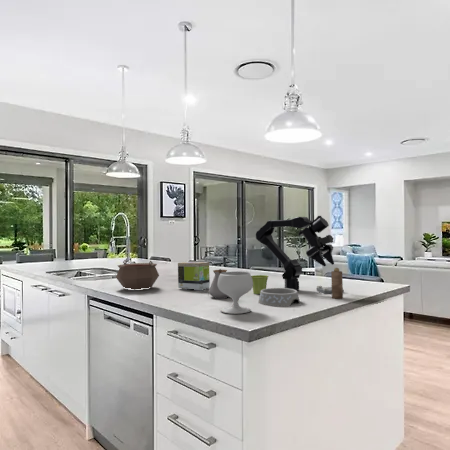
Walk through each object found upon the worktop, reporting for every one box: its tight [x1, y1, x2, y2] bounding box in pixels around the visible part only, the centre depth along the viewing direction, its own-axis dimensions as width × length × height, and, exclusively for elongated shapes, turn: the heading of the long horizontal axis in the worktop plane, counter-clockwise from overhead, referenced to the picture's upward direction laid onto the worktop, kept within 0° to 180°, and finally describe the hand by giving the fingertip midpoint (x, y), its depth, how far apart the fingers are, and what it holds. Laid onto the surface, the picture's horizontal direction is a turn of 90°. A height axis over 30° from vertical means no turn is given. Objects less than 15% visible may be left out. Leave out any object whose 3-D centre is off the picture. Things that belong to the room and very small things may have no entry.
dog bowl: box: [258, 287, 301, 307], centre depth 167 cm, size 17×18×5 cm
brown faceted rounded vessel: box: [115, 259, 160, 289], centre depth 214 cm, size 24×24×16 cm
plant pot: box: [251, 274, 269, 295], centre depth 190 cm, size 9×9×9 cm
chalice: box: [217, 271, 253, 315], centre depth 150 cm, size 14×14×15 cm
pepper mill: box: [330, 267, 344, 300], centre depth 173 cm, size 5×5×14 cm
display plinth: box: [316, 284, 345, 295], centre depth 190 cm, size 10×10×2 cm
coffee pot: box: [208, 268, 230, 299], centre depth 177 cm, size 21×12×15 cm, turn 0°
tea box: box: [177, 261, 211, 291], centre depth 210 cm, size 15×10×15 cm
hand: (329, 265), depth 183 cm, fingers open, 9 cm apart
